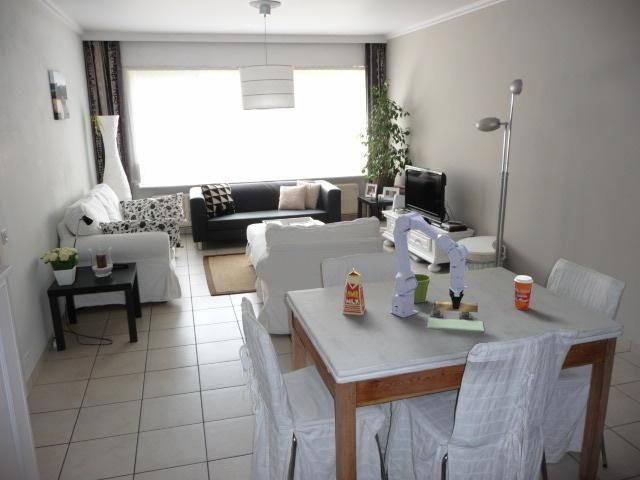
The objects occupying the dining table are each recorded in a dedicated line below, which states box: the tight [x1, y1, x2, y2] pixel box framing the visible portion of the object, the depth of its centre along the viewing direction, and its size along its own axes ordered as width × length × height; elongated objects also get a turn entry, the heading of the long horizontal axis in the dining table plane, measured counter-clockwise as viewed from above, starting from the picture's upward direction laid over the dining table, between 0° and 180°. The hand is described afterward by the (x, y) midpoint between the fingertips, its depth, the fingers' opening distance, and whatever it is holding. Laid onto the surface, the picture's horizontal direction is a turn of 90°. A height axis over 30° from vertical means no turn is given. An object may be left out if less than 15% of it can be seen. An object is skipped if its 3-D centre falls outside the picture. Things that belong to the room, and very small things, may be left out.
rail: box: [433, 300, 479, 313], centre depth 215 cm, size 17×3×3 cm, turn 77°
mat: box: [426, 317, 485, 333], centre depth 217 cm, size 22×10×1 cm, turn 77°
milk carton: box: [341, 267, 366, 316], centre depth 233 cm, size 9×9×20 cm
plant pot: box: [414, 273, 432, 304], centre depth 245 cm, size 12×12×11 cm
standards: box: [429, 301, 472, 320], centre depth 227 cm, size 17×5×5 cm, turn 77°
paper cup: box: [513, 274, 534, 311], centre depth 233 cm, size 8×8×14 cm
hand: (455, 307), depth 215 cm, fingers closed on rail, 3 cm apart
